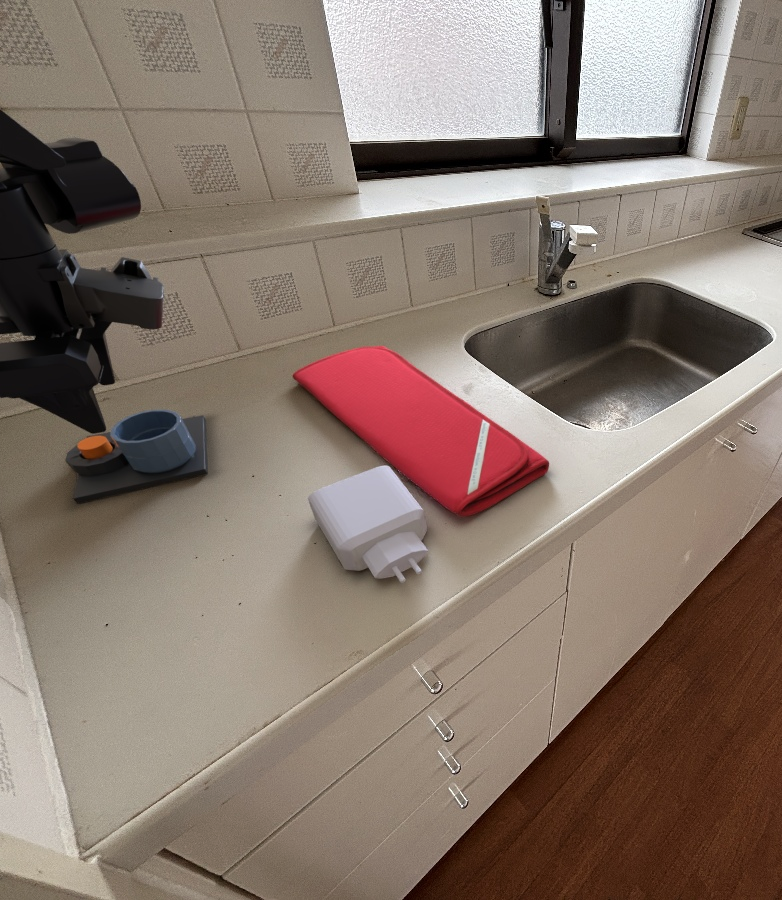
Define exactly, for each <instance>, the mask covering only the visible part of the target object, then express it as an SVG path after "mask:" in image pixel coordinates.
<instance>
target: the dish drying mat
mask: <svg viewBox="0 0 782 900" xmlns="http://www.w3.org/2000/svg"><path fill="white" fill-rule="evenodd" d="M292 379H293V380H295V381H296V383H298V384H299V385H300V386H301V387H302V388H304V389H305V390H307V391H308V392H309V393H310V394H311V395H312V396H313V397H314V398H315V399H316V400H318V402H319V403H320V404H321V405H322V406H324V407H325V408H326V409H327V410H328V411H329V412H330V413H331V414H332V415H333V416H335V417H336V418H337V419H339V420H340V421H341V422H342V423H343V424H344V425H345V426H347V427H348V428H349V429H350V430H351V431H352V432H354V433H355V434H356V436H357V437H359V438H360V439H361V440H363V441H364V442H365V443H366V444H367V445H368V446H370V447H371V448H372V449H373V450H374V452H376V453H377V454H378V455H379V456H381V458H383V459H384V460H385V461H387V463H389V464H390V465H391V466H393V467H394V468H395V469H397V471H398V472H399V473H401V474H402V475H403V476H405V478H407V479H409V481H411V482H412V483H413V484H414V485H416V486H417V487H419V488H420V489H421V490H422V491H423V492H425V493H426V494H428V495H429V496H430V497H431V498H432V499H434V500H435V501H436V502H437V503H439V504H440V505H442V507H444V508H445V509H447V510H448V511H450V512H452V513H453V514H455V515H457V516H458V517H469V516H473V515H475V514H478V513H480V512H482V511H485V510H486V509H489V508H490V507H492V506H494V505H496V504H497V503H499V502H501V501H502V500H504V499H506V498H507V497H509V496H511V495H512V494H514V493H516V492H517V491H519V490H521V489H522V488H524V487H525V486H527V485H529V484H531V483H532V482H535V481H536V480H537V479H539V478H542V477H543V476H544V475H546V474H547V473H548V471H549V468H550V462H549V461H550V460H548V459H547V458H546V457H544V456H543V455H542V454H541V453H540V452H538V451H536V450H535V449H534V448H532V447H531V446H529V445H528V444H526V443H525V442H524V441H523V440H521V439H520V438H518V437H517V436H516V435H514V434H513V433H512V432H510V431H509V430H507V429H506V428H505V427H502V426H501V425H500V424H498V423H497V422H495V421H494V420H492V419H491V418H489V417H487V416H486V415H485V414H484V413H482V412H480V411H479V410H477V408H475V407H474V406H472V405H471V404H470V403H468V402H466V401H465V400H464V399H463V398H461V397H459V396H457V395H456V394H454V393H453V392H452V391H450V390H449V389H447V388H446V387H444V386H443V385H442V384H440V383H438V381H436V380H434V378H432V377H430V376H429V375H428V374H426V373H425V372H423V371H422V370H420V369H419V368H417V367H416V366H415V365H413V364H412V363H411V362H409V361H408V359H406V358H404V357H403V355H400V354H399V353H398V352H396V351H394V350H391V349H389V348H387V347H386V346H384V345H375V346H361V347H356V348H352V349H347V350H344V351H341V352H338V353H334V354H331V355H329V356H326V357H323V358H320V359H318V360H315V361H313V362H311V363H309V364H307V365H305V366H303V367H301V368H299V369H297V370H296V371H294V372H293V374H292Z"/></svg>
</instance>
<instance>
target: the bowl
mask: <svg viewBox="0 0 782 900" xmlns="http://www.w3.org/2000/svg"><path fill="white" fill-rule="evenodd" d="M182 419H183V418H182V416H181V415H180V414H178V412H177V411H174V410H171V409H149V410H144V411H139V412H137V413H136V412H135V413H134V414H131V415H128V416H126V417H124V418H122V419H121V420H119V421H117V422H116V423H115V424H114V425H113V427H112V428H111V429H110V432H111V434H110V436H111V437H112V439H113V440H114V442H115V444H116V445H117V447H118V448H119V450H120V451H121V453H122V454H123V456H124V457H125V459H126V460H127V462H128V463H129V465H130V466H131V467H132V468H133V469H134V470H137V471H141V472H147V473H160V472H165V471H169V470H172V469H175V468H177V467H179V466H181V465H183V464H184V463H186V462H187V461H188V460H189V459H190V458H191V457H192V455H193V454H194V453H195V451H196V445H195V443H194V441H193V439H192V437H191V435H190V433H189V431H188V429H187V428H186V426H185V424H184V422H183V420H182Z"/></svg>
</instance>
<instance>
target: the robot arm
mask: <svg viewBox="0 0 782 900" xmlns="http://www.w3.org/2000/svg"><path fill="white" fill-rule="evenodd" d="M0 164H1V167H0V336H1V335H8V334H9V335H10V334H19V333H21V335H22V336H23V337H34V339H25V340H16V341H5V342H0V399H4V398H5V399H6V398H8V399H12V400H13V399H20V400H22V401H25V402H27V403H29V404H31V405H33V406H36V407H38V408H40V409H43V410H45V411H47V412H49V413H51V414H53V415H55V416H56V417H59V418H60V419H62V420H63V421H66V422H68V423H70V424H72V425H74V426H75V427H78V428H80V429H81V430H84V431H85V432H88V433H89V434H92V435H97V434H102V433H106V431H107V426H106V422H105V419H104V417H103V414H102V410H101V407H100V405H99V401H98V399H97V396H96V393H95V390H94V388H95V386H97V385H99V384H100V385H101V386H109V385H110V386H111V385H114V384H115V383H116V378H115V374H114V369H113V364H112V360H111V355H110V349H109V346H108V345H109V344H108V342H107V335H106V331H107V330H108V329H109V327H110V326H111V325H112V323H115V324H123V325H130V326H136V327H139V328H140V329H145V330H159V329H162V327H163V316H164V284H163V283H162V282H161V281H159V279H160V278H159V277H155V276H154V277H153V278H152V276H151V274H150V273H149V271H148V270H147V268H146V266H145V264H144V263H143V261H141V260H139V259H134V258H129V257H124V256H121V257H120V258H119V259H118V261H117V262H116V263H115V264H114V265H113V267H111V270H110V271H109V270H108V268H107V267H104V266H103V267H102V266H101V268H100V269H98V270H97V269H92V268H86V267H82V266H81V265H80V263H79V261H78V260H77V257H76V256H75V255H74V253H69V251H68V250H67V249H66V248H65V249H62V248H61V249H59V247H58V246H57V244H56V242H55V240H54V239H53V236H52V235H51V233H50V231H49V229H48V228H47V225H48V226H50V227H51V228H52V229H55V230H56V231H59V232H61V233H64V234H68V235H70V234H73V235H74V234H78V233H82V232H86V231H90V230H95V229H99V228H102V227H107V226H111V225H114V224H119V223H123V222H126V221H132V220H134V219H136V218H138V217H139V215H140V214H141V212H142V211H141V210H142V202H141V201H142V200H141V197H140V195H139V191H138V189H137V187H136V185H135V184H134V183H132V182H131V181H130V180H129V178H128V177H127V175H126V174H125V173H124V172H123V171H122V170H121V168H119V166H118V165H116V164H115V163H114V162H113V161H111V160H110V159H109V158H108V157H106V156H104V155H103V153H102V151H101V148H100V147H99V144H98V142H96V141H94V140H91V139H87V138H80V137H66V138H60V139H58V140H56V141H53V142H48V143H47V142H44V141H42V140H41V139H39V138H38V137H37V136H36V135H34V134H33V133H32V132H31V131H30V130H28V129H27V128H25V127H24V126H23V125H21V124H20V123H19V122H17V121H16V120H15V119H14V118H13V117H11V116H10V115H9V114H8V113H6V112H5V111H4V110H2V109H1V108H0Z"/></svg>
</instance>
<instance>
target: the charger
mask: <svg viewBox="0 0 782 900" xmlns="http://www.w3.org/2000/svg"><path fill="white" fill-rule="evenodd" d="M307 501H308V504H309V506H310V509H311V512H312V514H313V517H314V520H315V521H316V522H317V524H318V526H319V528H320V529H321V531H322V533H323V536H325V538H326V540H327V542H328V543H329V545H330V547H331V548H332V550H333V552H334V555H335V556H336V557H337V559H338V560H339V563H340V564H341V566H342V567H343V569H344V570H346V571H358V572H359V571H363V570H365V569H369V571H370V572H371V574H372V576H373V577H374V578H375V579H379V580H382V579H386V578H391V577H395V576H396V578H397V579H398V581H399V582H400V583H401V584H403V583H405V582H406V580H407V579H406V578H405V576H404V575H403V572H405V571H406V570H409V569H411V568H412V569H413V570H414V572H415V573H416V574H417V575H420V574H422V572H423V570H422V569H421V568H420V566H419V565H418V563H420V561H421V560H423V558H425V557H426V556H427V554H428V552H429V550H428V548H427V547H426V545H425V544H424V543H423V542H422V541H423V539H424V537H425V535H426V533H427V531H428V526H427V519H426V513H425V509H423V508H422V506H421V504H419V502H418V501H417V500H416V498H415V497H414V496H413V495H412V493H411V492H410V491H409V489H408V488H407V487H406V486H405V484H404V483H403V481H402V480H401V479H400V478H399V477H398V476H397V474H396V473H395V472H394V470H393V469H392V467H390V465H379V466H376V467H373V468H370V469H368V470H365V471H363V472H360V473H357V474H355V475H352V476H349V477H347V478H344V479H341V480H339V481H336V482H334V483H331V484H329V485H325V486H322V487H321V488H318V489H316V490H315V491H313V492H311V493H310V494H309V495H308V497H307Z"/></svg>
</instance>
